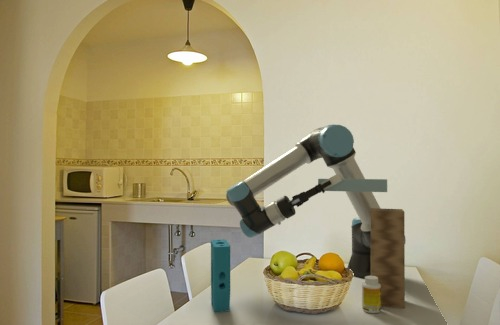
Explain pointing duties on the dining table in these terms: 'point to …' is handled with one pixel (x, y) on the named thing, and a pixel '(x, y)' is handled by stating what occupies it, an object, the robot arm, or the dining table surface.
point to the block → (220, 275)
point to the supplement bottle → (371, 295)
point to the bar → (359, 185)
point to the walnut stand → (389, 255)
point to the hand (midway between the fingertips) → (340, 176)
